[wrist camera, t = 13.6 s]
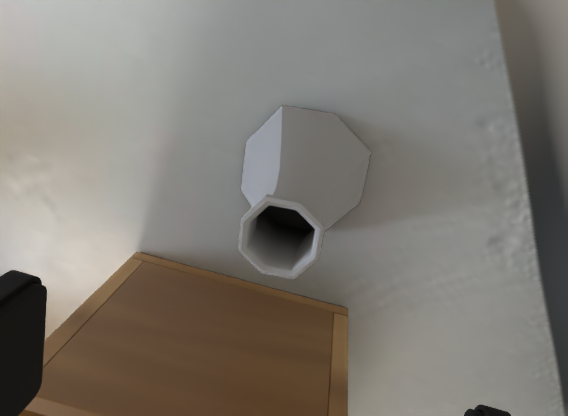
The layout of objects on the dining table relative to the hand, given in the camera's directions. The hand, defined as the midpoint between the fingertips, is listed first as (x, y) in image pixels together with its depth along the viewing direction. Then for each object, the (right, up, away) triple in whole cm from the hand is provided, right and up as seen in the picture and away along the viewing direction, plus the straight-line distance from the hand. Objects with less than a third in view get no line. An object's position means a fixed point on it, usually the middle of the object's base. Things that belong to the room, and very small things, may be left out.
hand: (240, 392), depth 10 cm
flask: (+2, +6, +16) cm, 18 cm away
